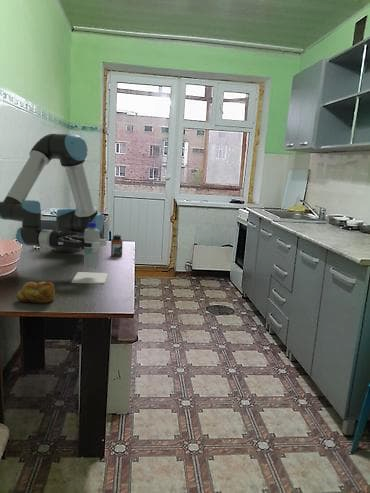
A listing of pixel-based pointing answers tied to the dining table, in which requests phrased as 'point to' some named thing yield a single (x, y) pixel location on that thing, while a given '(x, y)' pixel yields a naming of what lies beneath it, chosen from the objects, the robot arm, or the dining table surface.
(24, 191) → the robot arm
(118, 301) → the dining table surface
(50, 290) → the bread roll
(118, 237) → the supplement bottle
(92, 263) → the bottle
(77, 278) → the mat
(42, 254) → the dining table surface
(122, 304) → the dining table surface
